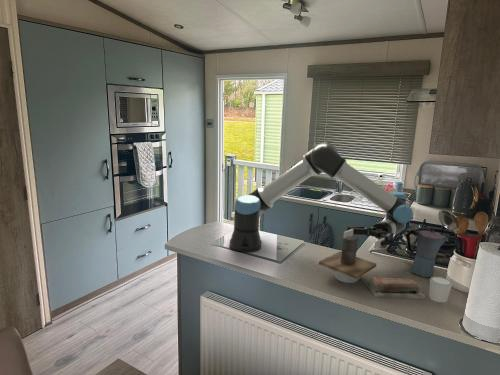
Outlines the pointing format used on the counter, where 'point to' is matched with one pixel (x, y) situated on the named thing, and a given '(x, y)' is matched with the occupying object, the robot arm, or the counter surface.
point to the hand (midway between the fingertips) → (359, 240)
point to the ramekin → (344, 277)
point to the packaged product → (394, 288)
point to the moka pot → (425, 251)
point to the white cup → (439, 289)
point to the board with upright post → (348, 260)
